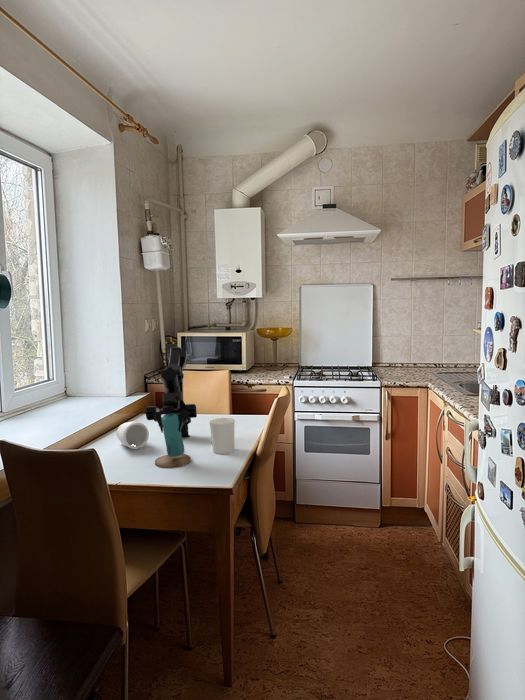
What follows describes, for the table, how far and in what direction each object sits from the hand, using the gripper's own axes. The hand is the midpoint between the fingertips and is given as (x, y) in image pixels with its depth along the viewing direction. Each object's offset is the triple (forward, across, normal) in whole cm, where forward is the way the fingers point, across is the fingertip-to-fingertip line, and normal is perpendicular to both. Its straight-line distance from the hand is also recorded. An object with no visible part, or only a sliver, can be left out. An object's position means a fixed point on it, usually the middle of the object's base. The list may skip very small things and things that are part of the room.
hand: (170, 431), depth 171 cm
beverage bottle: (+6, +2, +9) cm, 11 cm away
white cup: (+1, +19, +16) cm, 25 cm away
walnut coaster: (+7, 0, +10) cm, 12 cm away
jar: (-18, -23, +29) cm, 41 cm away
